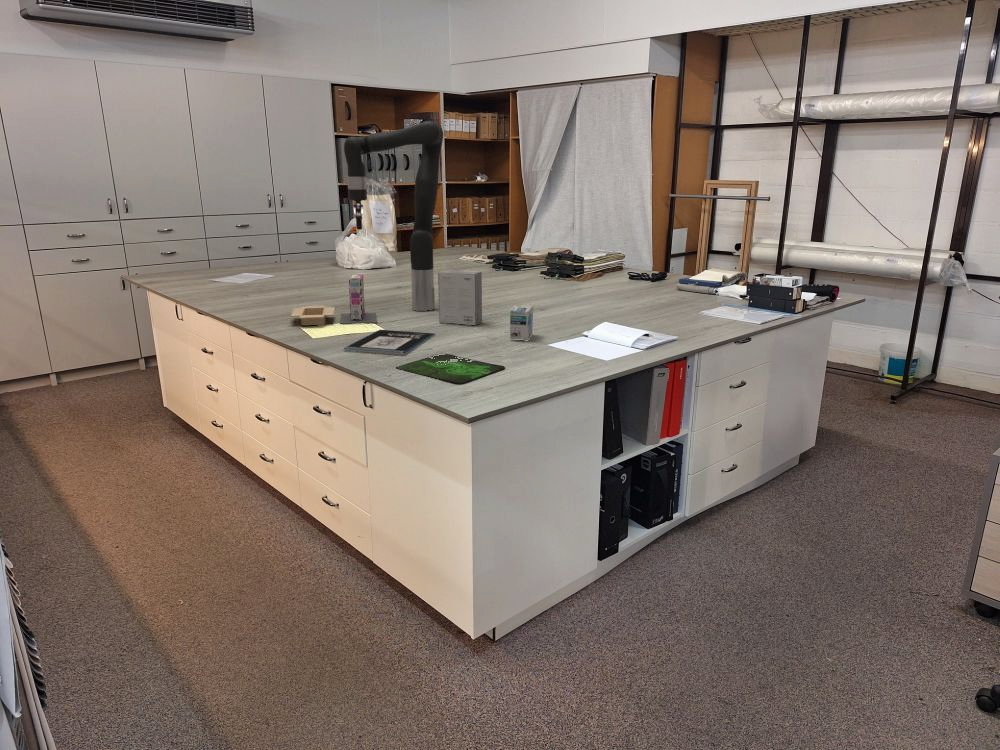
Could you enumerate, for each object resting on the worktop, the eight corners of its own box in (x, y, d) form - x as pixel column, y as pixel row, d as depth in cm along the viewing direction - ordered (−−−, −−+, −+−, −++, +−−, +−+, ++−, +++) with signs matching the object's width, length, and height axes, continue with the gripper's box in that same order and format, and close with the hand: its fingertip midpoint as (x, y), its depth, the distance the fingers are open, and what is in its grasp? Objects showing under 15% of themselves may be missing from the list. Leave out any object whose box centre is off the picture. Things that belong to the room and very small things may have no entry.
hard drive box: (482, 322, 264) (482, 271, 259) (475, 326, 257) (475, 274, 252) (446, 319, 269) (445, 269, 263) (438, 323, 262) (437, 271, 256)
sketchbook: (435, 337, 244) (435, 331, 243) (404, 358, 216) (404, 352, 215) (379, 332, 249) (379, 327, 248) (342, 353, 221) (342, 346, 220)
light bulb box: (528, 341, 236) (528, 311, 233) (509, 340, 237) (509, 310, 234) (532, 334, 246) (533, 305, 243) (514, 333, 247) (515, 304, 244)
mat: (375, 313, 278) (375, 312, 278) (377, 323, 261) (377, 322, 261) (341, 314, 275) (341, 313, 275) (339, 324, 258) (339, 323, 258)
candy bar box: (363, 320, 263) (361, 278, 258) (350, 320, 263) (348, 278, 258) (365, 314, 274) (363, 274, 269) (353, 314, 273) (350, 274, 268)
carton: (335, 315, 275) (334, 305, 273) (333, 326, 254) (333, 316, 253) (295, 316, 272) (294, 306, 270) (290, 328, 251) (289, 317, 250)
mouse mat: (391, 369, 204) (391, 365, 203) (441, 354, 220) (441, 351, 220) (460, 387, 188) (460, 383, 187) (507, 369, 204) (508, 366, 204)
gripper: (366, 188, 271) (368, 229, 276) (366, 187, 285) (368, 227, 290) (347, 188, 270) (349, 230, 275) (348, 187, 283) (350, 227, 288)
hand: (359, 228), depth 282 cm, fingers open, 8 cm apart
